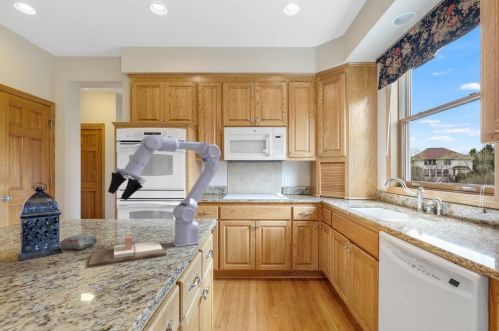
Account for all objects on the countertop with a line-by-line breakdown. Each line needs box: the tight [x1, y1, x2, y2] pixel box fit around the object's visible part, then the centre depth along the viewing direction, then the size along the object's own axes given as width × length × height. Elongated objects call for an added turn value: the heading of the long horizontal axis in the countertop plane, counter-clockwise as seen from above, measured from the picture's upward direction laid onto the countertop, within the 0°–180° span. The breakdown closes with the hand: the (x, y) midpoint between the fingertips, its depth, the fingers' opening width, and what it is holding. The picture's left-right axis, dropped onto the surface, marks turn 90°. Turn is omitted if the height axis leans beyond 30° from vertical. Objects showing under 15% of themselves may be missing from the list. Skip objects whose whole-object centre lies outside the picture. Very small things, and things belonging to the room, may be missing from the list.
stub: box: [113, 234, 134, 258], centre depth 86 cm, size 6×11×5 cm, turn 29°
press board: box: [88, 242, 167, 268], centre depth 87 cm, size 23×14×1 cm, turn 119°
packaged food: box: [58, 234, 99, 250], centre depth 94 cm, size 9×12×5 cm
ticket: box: [132, 240, 164, 256], centre depth 90 cm, size 9×11×1 cm
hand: (116, 196), depth 87 cm, fingers open, 7 cm apart
